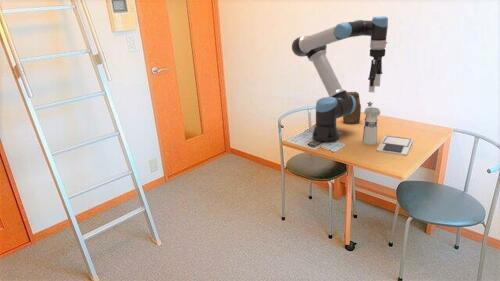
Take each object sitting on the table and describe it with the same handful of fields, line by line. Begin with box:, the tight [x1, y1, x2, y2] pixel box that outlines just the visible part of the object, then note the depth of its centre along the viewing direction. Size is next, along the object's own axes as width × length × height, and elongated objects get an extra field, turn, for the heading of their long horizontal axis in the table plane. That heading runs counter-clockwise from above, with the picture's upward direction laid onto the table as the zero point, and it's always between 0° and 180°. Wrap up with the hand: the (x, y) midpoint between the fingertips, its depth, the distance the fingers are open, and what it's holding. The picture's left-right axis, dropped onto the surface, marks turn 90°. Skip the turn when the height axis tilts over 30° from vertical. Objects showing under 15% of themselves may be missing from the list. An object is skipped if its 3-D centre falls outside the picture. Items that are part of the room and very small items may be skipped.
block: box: [342, 91, 362, 125], centre depth 232 cm, size 11×8×20 cm
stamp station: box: [376, 135, 414, 157], centre depth 196 cm, size 15×22×1 cm
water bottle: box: [362, 101, 381, 146], centre depth 198 cm, size 8×9×25 cm
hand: (374, 89), depth 191 cm, fingers open, 13 cm apart
